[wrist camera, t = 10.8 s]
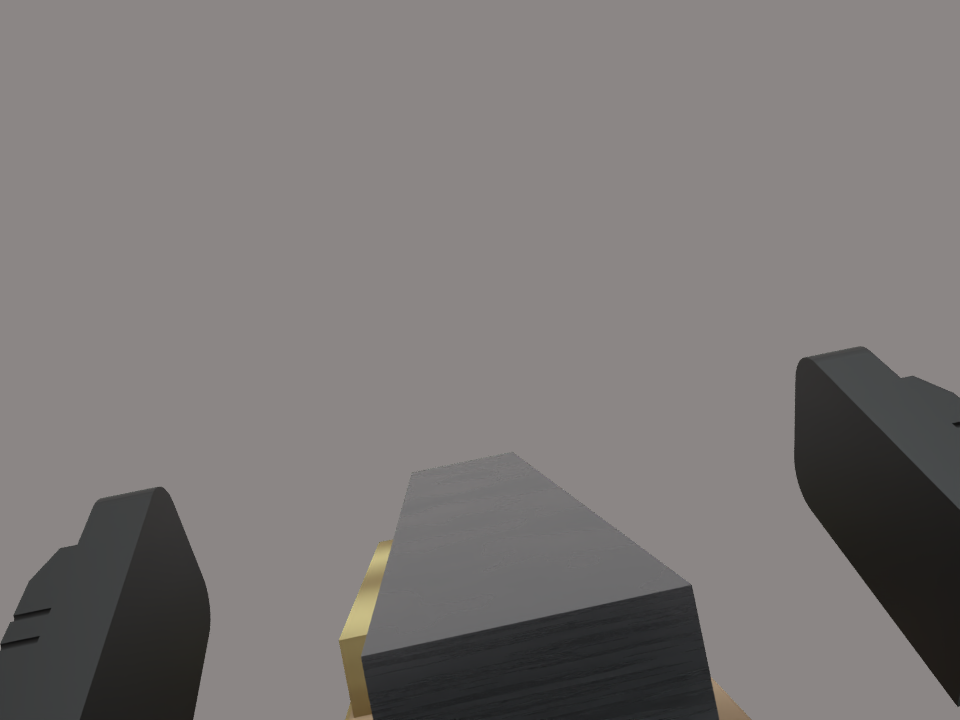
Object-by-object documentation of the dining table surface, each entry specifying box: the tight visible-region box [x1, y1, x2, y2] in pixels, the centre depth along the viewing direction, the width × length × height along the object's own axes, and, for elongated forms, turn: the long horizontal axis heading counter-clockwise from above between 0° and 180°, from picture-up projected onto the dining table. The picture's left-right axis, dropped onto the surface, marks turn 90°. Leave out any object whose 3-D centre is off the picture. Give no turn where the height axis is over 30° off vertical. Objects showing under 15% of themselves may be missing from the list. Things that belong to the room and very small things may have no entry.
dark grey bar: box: [361, 452, 719, 720], centre depth 20 cm, size 22×4×4 cm, turn 3°
